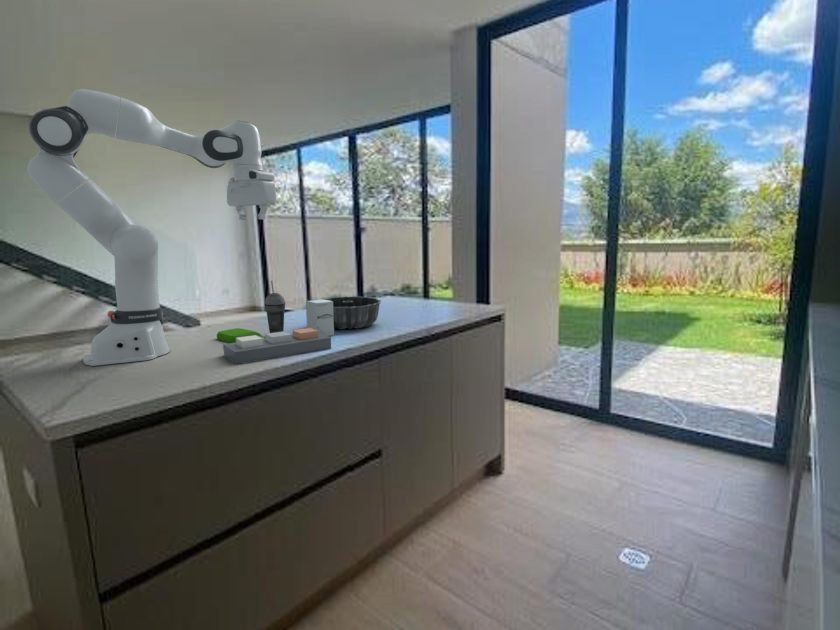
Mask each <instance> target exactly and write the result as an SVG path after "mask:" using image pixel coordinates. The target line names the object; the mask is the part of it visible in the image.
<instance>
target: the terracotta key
mask: <svg viewBox="0 0 840 630" xmlns="http://www.w3.org/2000/svg"><path fill="white" fill-rule="evenodd" d="M292 335H293V337H294V338H296V339H299V340H304V339H311V338H318V331H317V330H314V329H312V328H307V327H306V328H299V329H293V330H292Z"/></svg>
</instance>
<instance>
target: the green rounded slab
mask: <svg viewBox="0 0 840 630" xmlns="http://www.w3.org/2000/svg"><path fill="white" fill-rule="evenodd" d="M253 335H256V336H258V337H260V338H262V339H264V338H265V336H263V335H262V334H261V333H259V332H257V331H254V330H251V329H245V328H240V327H236V328H230V329H224V330H219V331H218V332H217V334H216V339H217V340H219V341H223V342H226V343H235V342H236V338H238V337H246V336H253Z"/></svg>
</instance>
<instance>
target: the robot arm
mask: <svg viewBox="0 0 840 630" xmlns="http://www.w3.org/2000/svg"><path fill="white" fill-rule="evenodd" d="M28 129H29V134H30V136H31V138H32V139H33V141H34V142H35V143H36V145H37V146H38V152H37V154H36V155H34V156H33V157H32V158H31V159H30V160H29V162H28V165H27V167H26V168H27V169H26V170H27V171H26V172H27V173H28V175H29V177H30V179H31V180H33V182H34V183H35V184H36V186H37V187H38V188H39V189H40V190H41V191H42V192H43V193H44V194H45V195H46V197H48V198H49V199H50V200H51V201H52V202H53V203H55V204H56V205H57V206H58V207H59V208H60V210H62V211H64V212H65V213H66V214H67V215H68V216H69V217H71V219H73V220H74V222H76V223H77V224H79V226H81V227H82V228H83V229H84V230H85V231H86V232H87V233H88V234H89V235H90V236H91V237H92V238H93V239H95V240H96V242H97V243H99V244H100V245H101V246H102V247H103V248H104V249H106V251H108V252H109V253H110V254H111V255H113V258H114V275H115V276H114V289H115V290H114V291H115V297H116V305H117V309H116V310H115V311H114V310H108V312H107V317H109V318H110V322H111V324H109V325H107V327H105V328H104V329H103V330H101V331H100V332H99V333H98V334H97V335H95V336H94V338H93V339H92V342H91V346H90V347H91V348H90V352H89V353H87V354H85V355H83V357H82V363H83V364H84V365H87V366H92V367H93V366H96V367H97V366H104V365H112V364H123V363H133V362H141V361H142V362H143V361H150V360H153V359H155V358H158V357H159V356H163V355H166V354H168V353H170V352H171V349H170V347H169V345H168V341H167V339H166V335H165V332H164V327H163V325H164V315H163V314H164V313H163V309H162V306H161V305H160V296H159V285H158V275H159V242H158V239H157V237H156V236H155V234H154V233H153V232H152V231H151V230H150V229H148V228H147V227H145V226H142V225H139V224H138V225H137V224H136V223H135V222H134V221H133V220H131V219H132V218H130V217H129V216H128V215H127V213H125V212H124V210H122V208H121V207H120V205H118V203H117V202H116V201H115V200H114V199H113V198H111V197H110V196H109V194H107V193H106V191H104V190H103V189H102V188H101V187H100V186H99V185H98V184H97V183H96V182H95V181H93V179H92V178H90V177H89V176H88V174H86V173H85V172H84V171H83V170H82V169H81V168H80V167H79V166H78V165H77V163H76V162H75V159H74V158H75V157H76V155H77V154H78V151H80V149H81V148H82V146H83V144H84V142H85V141H84V140H85V137H86V136H88V135H90V134H98V135H104V136H107V137H111V138H114V139H117V140H121V141H126V142H130V143H136V144H137V143H138V144H143V145H148V146H149V145H150V146H155V147H160V148H163V149H167V150H170V151H174V152H177V153H180V154H184V155H186V156H189V157H191V158H193V159H194V160H196V161H198V162H199V163H200V164H201V165H203V166H205V167H206V168H212V169H217V168H221V167H223V166H224V165H225V164H226V163H232V165H233V175H234V176H233V177H230V179H229V180H228V181H227V182H228V183H227V186H226V203H227V205H228V206H229V207H235V211H236V213H237V215H238V219H239V220H240V221H246V220H247V214H245V212H244V208H245V207H246V206H247V207H248V206H258V207H259V209H260V210H259V213H257V219H258V220H266V214H267V211H268V205H275V203H276V201H277V192H276V183H275V182H274V181H275V174H274V173H273V172H269V171H266V170H264V168H263V166H264V165H263V163H262V159H261V158H262V153H263V152H262V142H261V135H260V132H259V130H258V127H257V126H255V125H254V124H252V123H250V122H248V121H244V120H235V121H232V122H231V123H230V124H228V125H225V126H223V127H220V128H217V129H216V128H215V129H212V130H209V131H207V132H206V133H204V134H203V135H199V136H197V135H192V134H189V133H187V132H183V131H180V130H178V129H175V128H172V127H169V126H167V125H165V124H164V123H162V122H161V121H160V120H158V119H157V118H156V116H155V115H154V114H153V112H152V111H151V110H150V109H149V108H148V107H146V106H144V105H141V104H139V103H138V102H135V101H133V100H131V99H127V98H125V97H122V96H117V95H115V94H112V93H107V92H103V91H99V90H92V89H85V88H80V89H79V88H78V89H76V90H74V91H73V92H72V93H71V94H70V95H69V97H68V101H67V105H63V106H57V107H51V108H50V107H49V108H45V109H42V110H40V111H37V112H36V113H34V114H33V115H32V117H31V118H30V120H29V124H28Z"/></svg>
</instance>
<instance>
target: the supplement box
mask: <svg viewBox="0 0 840 630" xmlns="http://www.w3.org/2000/svg"><path fill="white" fill-rule="evenodd" d="M322 299H323V300H322ZM322 299H314V300H306V301H305V311H306V312H305V314H306V328H312V329H314V330H317V331H318V333H320V334H323V335H325V336H328V337H330V336H335V329H334V318H333V301H329V300H324V299H325V298H322Z"/></svg>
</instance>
